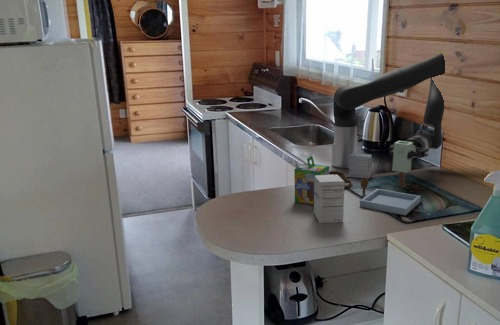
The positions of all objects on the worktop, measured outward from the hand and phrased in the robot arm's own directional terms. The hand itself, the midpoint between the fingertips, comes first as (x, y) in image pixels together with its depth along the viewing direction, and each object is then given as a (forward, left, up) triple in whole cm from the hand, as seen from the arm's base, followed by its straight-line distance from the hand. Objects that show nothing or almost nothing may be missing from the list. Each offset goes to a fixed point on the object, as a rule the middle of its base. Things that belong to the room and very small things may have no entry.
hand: (400, 155), depth 163 cm
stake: (0, +3, -12) cm, 13 cm away
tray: (+3, -17, -12) cm, 21 cm away
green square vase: (0, +3, -6) cm, 7 cm away
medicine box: (-18, +8, -13) cm, 23 cm away
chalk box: (-20, -27, -13) cm, 36 cm away
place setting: (-18, -10, -13) cm, 25 cm away
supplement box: (-8, -39, -13) cm, 42 cm away
